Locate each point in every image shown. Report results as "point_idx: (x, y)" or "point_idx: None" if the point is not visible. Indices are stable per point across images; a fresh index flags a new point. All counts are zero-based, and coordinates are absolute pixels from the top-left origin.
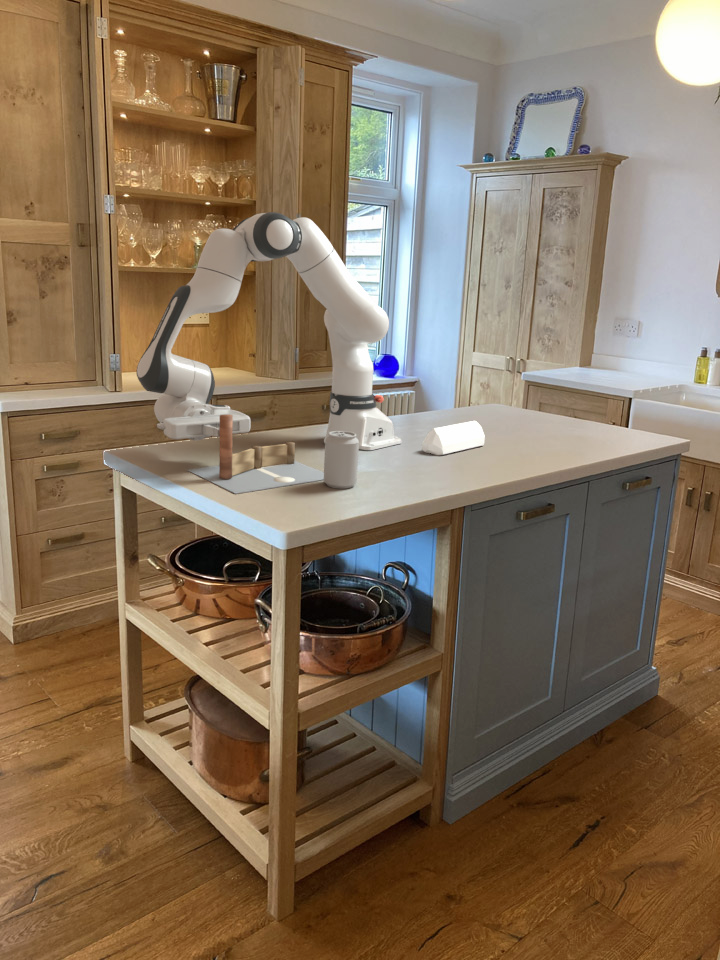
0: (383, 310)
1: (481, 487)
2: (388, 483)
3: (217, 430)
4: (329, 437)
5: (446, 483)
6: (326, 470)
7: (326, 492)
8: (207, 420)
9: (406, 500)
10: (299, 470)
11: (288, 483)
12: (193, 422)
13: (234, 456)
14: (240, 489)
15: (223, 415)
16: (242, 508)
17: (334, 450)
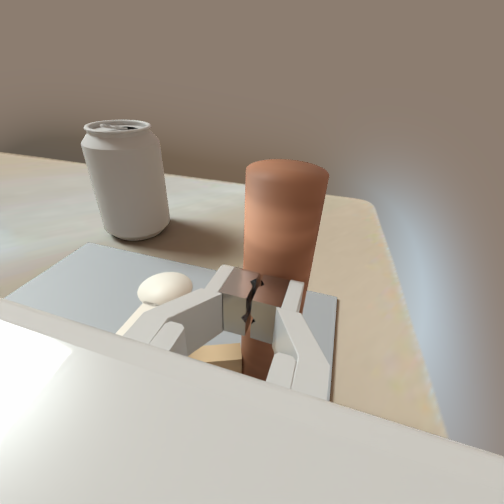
0: None
1: (68, 162)
2: (92, 201)
3: (303, 285)
4: (139, 137)
5: (61, 176)
6: (160, 205)
7: (196, 225)
8: (252, 405)
9: (170, 180)
10: (49, 306)
11: (190, 271)
12: (466, 455)
13: (218, 347)
14: (307, 305)
15: (296, 176)
16: (373, 254)
17: (160, 156)
